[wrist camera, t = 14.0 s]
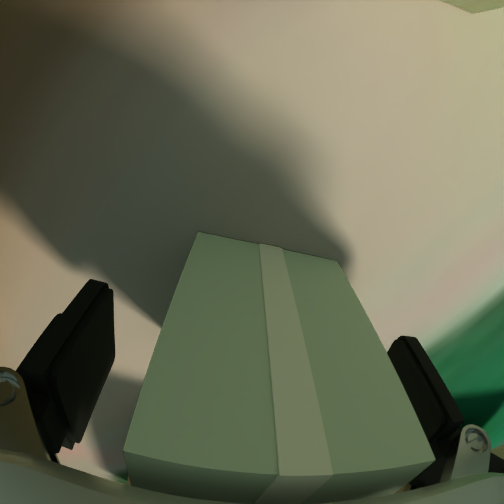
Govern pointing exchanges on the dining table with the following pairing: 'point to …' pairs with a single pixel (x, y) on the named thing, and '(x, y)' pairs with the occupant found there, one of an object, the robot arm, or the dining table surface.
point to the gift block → (270, 387)
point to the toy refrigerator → (476, 5)
